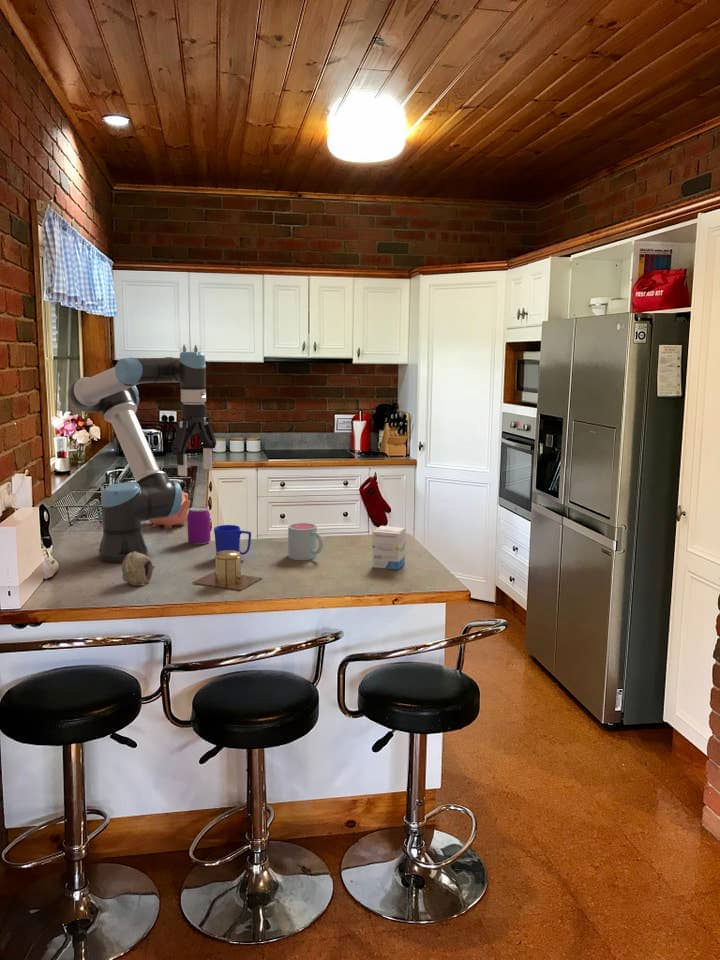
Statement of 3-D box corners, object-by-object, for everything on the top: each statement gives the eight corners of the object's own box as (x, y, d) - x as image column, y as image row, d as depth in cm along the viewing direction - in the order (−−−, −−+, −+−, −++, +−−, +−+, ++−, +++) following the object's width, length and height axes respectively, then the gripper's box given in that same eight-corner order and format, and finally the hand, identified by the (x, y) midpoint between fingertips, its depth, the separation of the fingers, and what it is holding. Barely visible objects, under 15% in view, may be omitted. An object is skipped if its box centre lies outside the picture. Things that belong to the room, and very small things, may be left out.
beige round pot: (128, 595, 217) (116, 566, 212) (124, 582, 224) (113, 553, 220) (160, 582, 219) (149, 553, 215) (156, 569, 227) (144, 541, 222)
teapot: (191, 529, 283) (190, 493, 281) (144, 532, 278) (142, 495, 276) (189, 519, 298) (187, 485, 296) (143, 522, 294) (142, 487, 291)
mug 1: (246, 563, 241) (246, 532, 239) (210, 560, 243) (210, 530, 242) (255, 556, 249) (255, 526, 247) (220, 553, 251) (219, 524, 250)
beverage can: (209, 539, 270) (208, 505, 268) (212, 544, 263) (211, 510, 260) (186, 540, 267) (185, 506, 265) (189, 546, 260) (188, 511, 258)
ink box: (405, 563, 244) (406, 527, 241) (398, 570, 236) (398, 533, 234) (379, 560, 246) (380, 524, 244) (371, 567, 238) (372, 530, 236)
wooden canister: (235, 585, 218) (235, 558, 217) (208, 581, 221) (208, 554, 220) (247, 578, 224) (247, 552, 223) (221, 574, 228) (221, 548, 226)
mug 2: (282, 556, 250) (282, 526, 248) (303, 550, 256) (303, 521, 254) (311, 564, 240) (311, 533, 239) (332, 558, 247) (332, 528, 245)
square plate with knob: (192, 583, 220) (191, 562, 219) (215, 572, 231) (215, 551, 230) (240, 590, 214) (240, 568, 213) (261, 579, 225) (261, 557, 224)
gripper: (179, 406, 220) (181, 479, 224) (226, 400, 243) (227, 467, 247) (158, 405, 223) (160, 477, 227) (206, 400, 246) (207, 465, 249)
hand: (195, 472), depth 237 cm, fingers open, 13 cm apart
